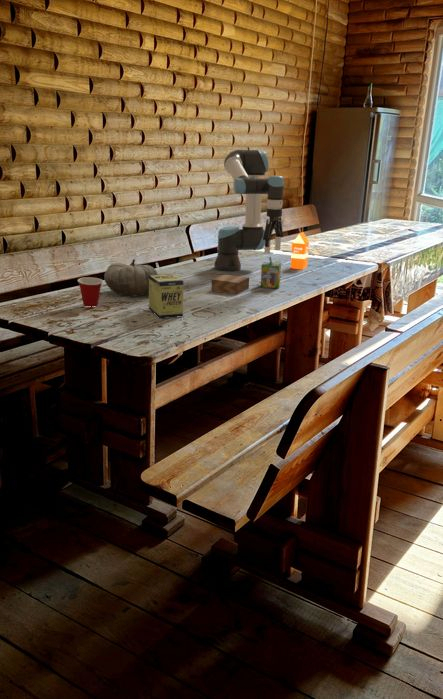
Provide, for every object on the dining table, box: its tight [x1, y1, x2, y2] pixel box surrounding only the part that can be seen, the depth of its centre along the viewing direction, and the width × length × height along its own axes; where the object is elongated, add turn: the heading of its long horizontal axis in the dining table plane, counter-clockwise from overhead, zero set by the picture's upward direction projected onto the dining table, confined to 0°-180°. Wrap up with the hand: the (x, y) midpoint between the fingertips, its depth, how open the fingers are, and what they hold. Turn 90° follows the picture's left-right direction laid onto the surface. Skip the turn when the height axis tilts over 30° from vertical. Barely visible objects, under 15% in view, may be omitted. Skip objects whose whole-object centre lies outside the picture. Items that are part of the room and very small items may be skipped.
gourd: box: [103, 258, 158, 297], centre depth 318 cm, size 25×25×17 cm
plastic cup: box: [77, 276, 104, 307], centre depth 294 cm, size 11×11×12 cm
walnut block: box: [211, 273, 250, 295], centre depth 333 cm, size 14×14×6 cm
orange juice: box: [290, 231, 310, 270], centre depth 390 cm, size 8×9×20 cm
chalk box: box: [260, 256, 282, 289], centre depth 341 cm, size 9×9×15 cm
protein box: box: [148, 273, 184, 319], centre depth 286 cm, size 10×16×16 cm
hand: (272, 251), depth 338 cm, fingers open, 13 cm apart
